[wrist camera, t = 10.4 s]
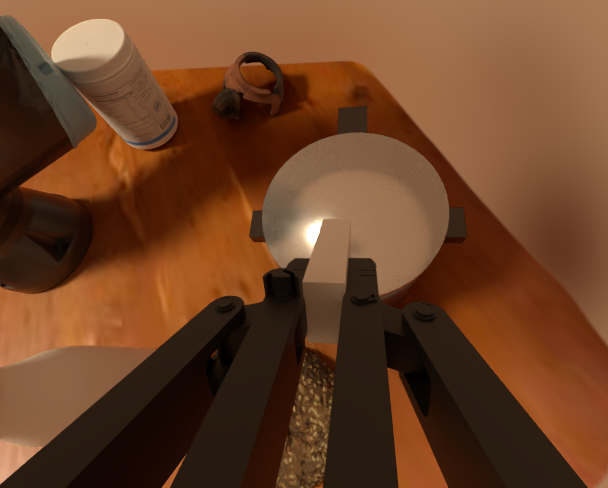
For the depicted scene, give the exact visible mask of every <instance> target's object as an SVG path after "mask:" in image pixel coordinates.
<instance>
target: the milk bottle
mask: <svg viewBox="0 0 608 488" xmlns="http://www.w3.org/2000/svg"><path fill="white" fill-rule="evenodd" d="M156 350H157V349H150V348H131V347H107V346H69V347H61V348H56V349H51V350H48V351H44V352H41V353H39V354H36V355H34V356H31V357H29V358H27V359H24V360H22V361H20V362H17V363H14V364H11V365H8V366H4V367H0V440H1V441H5V442H8V443H11V444H15V445H19V446H25V447H44V446H46V445H47V444H48V443H49V442H50V441H51V440H52V439H54V438H55V437H56V436H57V435H58V434H59V433H61V432H62V431H63V430H64V429H65V428H66V427H68V426H69V425H70V424H71V423H72V422H73V421H74V420H76V419H77V418H78V417H79V416H80V415H81V414H83V413H84V412H85V411H86V410H87V409H88V408H90V407H91V406H92V405H93V404H94V403H95V402H97V401H98V400H99V399H100V398H101V397H102V396H103V395H105V394H106V393H107V392H108V391H109V390H110V389H112V388H113V387H114V386H115V385H116V384H117V383H119V382H120V381H121V380H122V379H123V378H124V377H125V376H127V375H128V374H129V373H130V372H131V371H132V370H134V369H135V368H136V367H137V366H138V365H139V364H141V363H142V362H143V361H144V360H145V359H146V358H147V357H149V356H150V355H151V354H152V353H153V352H154V351H156Z"/></svg>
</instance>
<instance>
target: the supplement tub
mask: <svg viewBox="0 0 608 488" xmlns="http://www.w3.org/2000/svg"><path fill="white" fill-rule="evenodd" d="M52 60H53V62H54V63H55V64H56V65H57V66H58V68H59V69H60V70H61V71H62V72H63V74H64V75H65V76H66V77H67V79H68V80H69V81H70V82H71V84H72V85H73V86H74V87H75V88H76V89H77V91H78V92H79V93H80V94H81V95H82V96H83V97H84V98H85V99H86V100H87V101H88V102H89V103H90V104H91V105H92V106H93V108H94V109H95V110H96V111H97V112H98V113H99V114H100V115H101V116H102V117H103V118H104V119H105V120H106V121H107V123H108V124H109V125H110V126H111V127H112V128H113V129H114V130H115V131H116V132H117V133H118V134H119V135H120V136H121V138H122V139H123V140H124V141H125V142H126V143H127V144H129V145H130V146H132V147H134V148H137V149H153V148H156V147H159V146H161V145H163V144H165V143H166V142H167V141H168V140H170V139H171V138H172V136H173V135H174V133H175V132H176V130H177V126H178V117H177V114H176V112H175V110H174V109H173V107H172V105H171V104H170V102H169V100H168V99H167V97H166V95H165V94H164V92H163V90H162V89H161V87H160V85H159V84H158V82H157V81H156V79H155V77H154V76H153V74H152V72H151V71H150V69H149V67H148V66H147V64H146V63H145V61H144V59H143V58H142V56H141V54H140V53H139V51H138V49H137V48H136V46H135V45H134V43H133V42H132V40H131V38H130V37H129V36H128V35H127V34H126V32H125V31H124V29H123V28H122V26H120V25H119V24H118V23H116V22H114V21H111V20H107V19H93V20H88V21H84V22H82V23H79V24H77V25H74V26H73V27H71V28H69V29H68V30H66V31H65V32H64V33H63V34H62V35H61V36H60V37H59V38H58V39H57V40H56V42H55V44H54V46H53V48H52Z"/></svg>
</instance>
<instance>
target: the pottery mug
mask: <svg viewBox="0 0 608 488" xmlns="http://www.w3.org/2000/svg"><path fill="white" fill-rule="evenodd" d="M244 62H245V63H246V64H247V63H252V62H260V63H262V64H264V65H265V67H266V69H267V70H271V71H272V72H273V73H274V74H275V76H276V78H277V84H276V85H275V86H274V93H273V94H271V92H270V90H269V89H259V88H256V87H254V86H252V85H251V84H249V83H248V82H246V81H245V79H244V78H243V76H242V75H241V72H240V65H241V64H242V63H244ZM238 92H241V93H243V98H244V99H247V100H250V101H253V102H259V103H263V104H270V105H271V110H270V115H271V116H273V115H275V114H276V113H278V110H279V108H280V104H281V103H282V101H283V95H284V87H283V75H282V73H281V70H280V68H279V66H278V65H277V64H276V63H275V62H274V61H273V60H272V59H271V58H270V57H268V56H266V55H264V54H261V53H258V52H247V53H244V54H243V55H241V56H240V57H238V58H237V60H236V62H235V63H234V64H233V65H231V66H230V67H229V68H228V70H227V71H226V74H225V76H224V80H223V91H221V92H220V93H219V94H218V95H217V97H216V98H215V100H214V101H213V103H212V108H213V112H214V113H215V115H217V116H218V117H220V118H222V119H228V118H233V119H236V120H239V119H240V115H239V108H240V106H241V98H240V95H239V93H238Z"/></svg>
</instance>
